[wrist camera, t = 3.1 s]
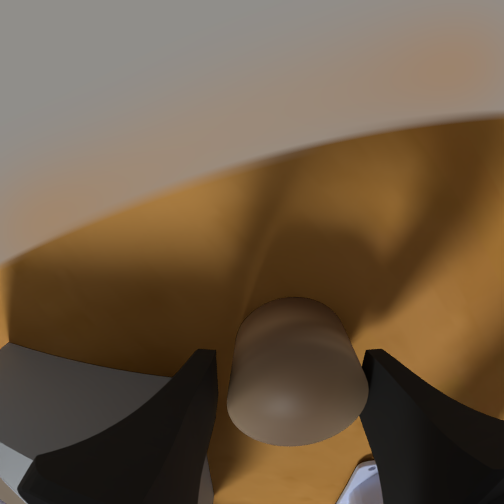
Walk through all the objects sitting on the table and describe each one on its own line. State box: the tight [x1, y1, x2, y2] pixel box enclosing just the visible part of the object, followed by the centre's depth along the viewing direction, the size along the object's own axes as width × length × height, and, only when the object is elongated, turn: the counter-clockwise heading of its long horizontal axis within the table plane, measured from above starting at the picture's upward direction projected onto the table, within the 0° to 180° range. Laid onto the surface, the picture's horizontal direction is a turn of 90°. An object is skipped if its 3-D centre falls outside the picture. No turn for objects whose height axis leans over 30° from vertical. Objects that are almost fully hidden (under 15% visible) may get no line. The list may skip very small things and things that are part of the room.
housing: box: [0, 342, 214, 504], centre depth 11 cm, size 12×12×6 cm
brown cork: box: [227, 297, 369, 446], centre depth 10 cm, size 4×4×4 cm
